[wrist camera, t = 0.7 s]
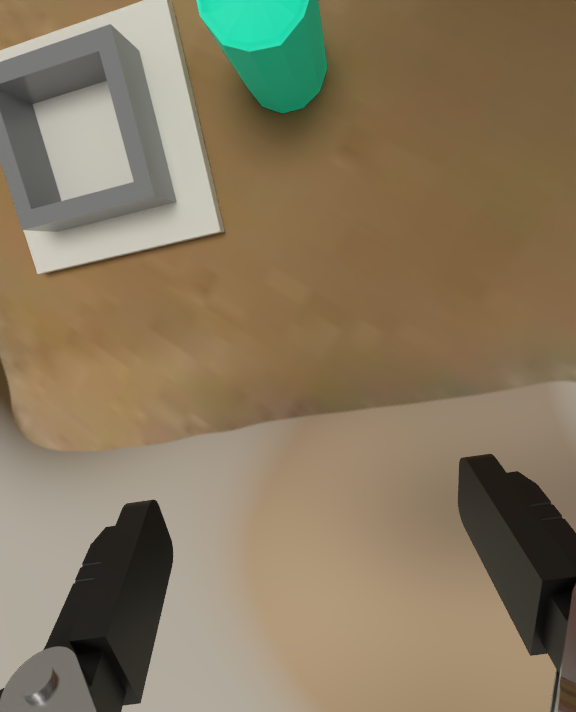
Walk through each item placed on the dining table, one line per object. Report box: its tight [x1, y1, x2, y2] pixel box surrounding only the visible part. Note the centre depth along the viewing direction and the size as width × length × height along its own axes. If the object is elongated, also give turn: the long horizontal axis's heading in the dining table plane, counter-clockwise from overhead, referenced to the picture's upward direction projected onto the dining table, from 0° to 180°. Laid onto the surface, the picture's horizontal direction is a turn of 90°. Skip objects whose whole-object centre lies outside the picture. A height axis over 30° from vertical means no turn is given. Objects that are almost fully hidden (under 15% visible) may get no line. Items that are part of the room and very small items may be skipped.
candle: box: [196, 0, 328, 113], centre depth 25 cm, size 6×6×12 cm
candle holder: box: [0, 0, 225, 274], centre depth 32 cm, size 16×16×5 cm
